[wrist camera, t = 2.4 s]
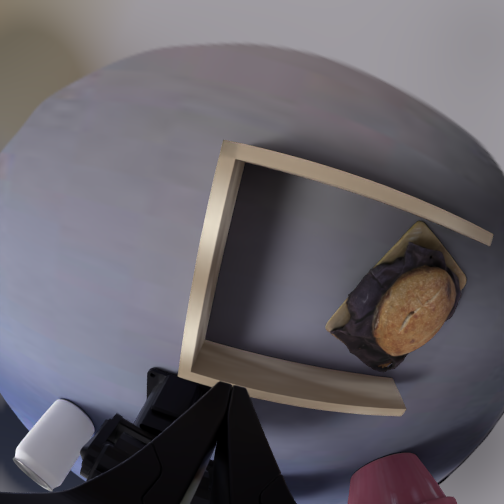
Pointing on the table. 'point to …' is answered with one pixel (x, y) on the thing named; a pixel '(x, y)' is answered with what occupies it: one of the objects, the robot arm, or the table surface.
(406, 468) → the plant pot
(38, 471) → the can
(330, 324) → the bread roll
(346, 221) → the table surface
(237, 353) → the frame
